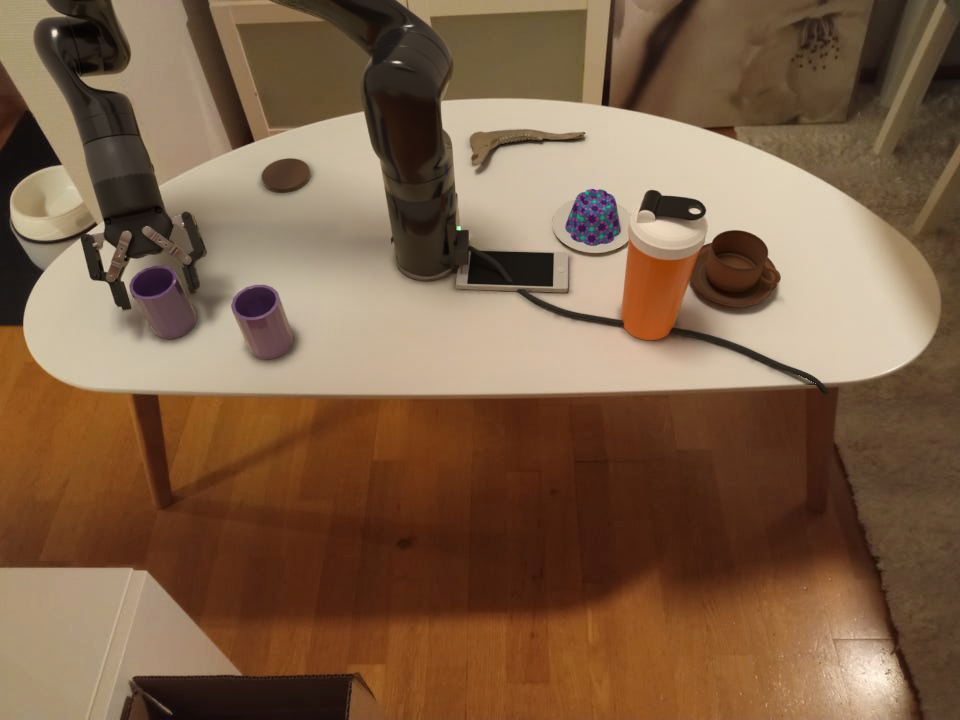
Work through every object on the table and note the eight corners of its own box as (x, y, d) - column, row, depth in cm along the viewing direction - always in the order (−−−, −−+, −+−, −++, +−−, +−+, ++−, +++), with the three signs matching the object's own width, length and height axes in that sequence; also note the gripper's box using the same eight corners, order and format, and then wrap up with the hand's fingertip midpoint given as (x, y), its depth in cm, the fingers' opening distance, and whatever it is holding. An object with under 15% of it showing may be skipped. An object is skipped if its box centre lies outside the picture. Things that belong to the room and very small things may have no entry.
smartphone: (567, 293, 105) (568, 288, 104) (455, 289, 106) (455, 284, 105) (567, 256, 109) (568, 251, 108) (460, 253, 110) (460, 248, 109)
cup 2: (297, 325, 103) (283, 284, 96) (289, 359, 99) (274, 319, 93) (253, 325, 103) (237, 284, 97) (244, 359, 99) (226, 319, 93)
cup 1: (201, 306, 105) (181, 265, 99) (190, 339, 102) (169, 299, 95) (159, 306, 106) (137, 265, 99) (147, 339, 102) (123, 299, 96)
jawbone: (452, 146, 126) (451, 135, 125) (561, 114, 131) (561, 103, 130) (474, 174, 120) (473, 163, 119) (587, 139, 125) (588, 128, 124)
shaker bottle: (679, 350, 98) (712, 236, 82) (610, 341, 99) (629, 226, 83) (682, 300, 103) (713, 183, 87) (616, 291, 105) (635, 175, 89)
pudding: (535, 227, 113) (536, 199, 109) (590, 190, 118) (593, 162, 113) (595, 269, 107) (598, 242, 103) (650, 228, 112) (656, 200, 108)
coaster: (313, 161, 124) (312, 157, 123) (306, 192, 119) (305, 188, 119) (267, 162, 124) (266, 158, 124) (258, 193, 120) (257, 189, 119)
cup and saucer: (775, 258, 107) (788, 225, 103) (772, 321, 100) (785, 289, 96) (689, 244, 110) (698, 212, 105) (680, 305, 103) (688, 273, 98)
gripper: (54, 187, 92) (96, 316, 94) (174, 161, 94) (212, 289, 97) (75, 194, 99) (113, 314, 102) (185, 170, 102) (220, 288, 104)
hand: (161, 301), depth 99 cm, fingers open, 8 cm apart
